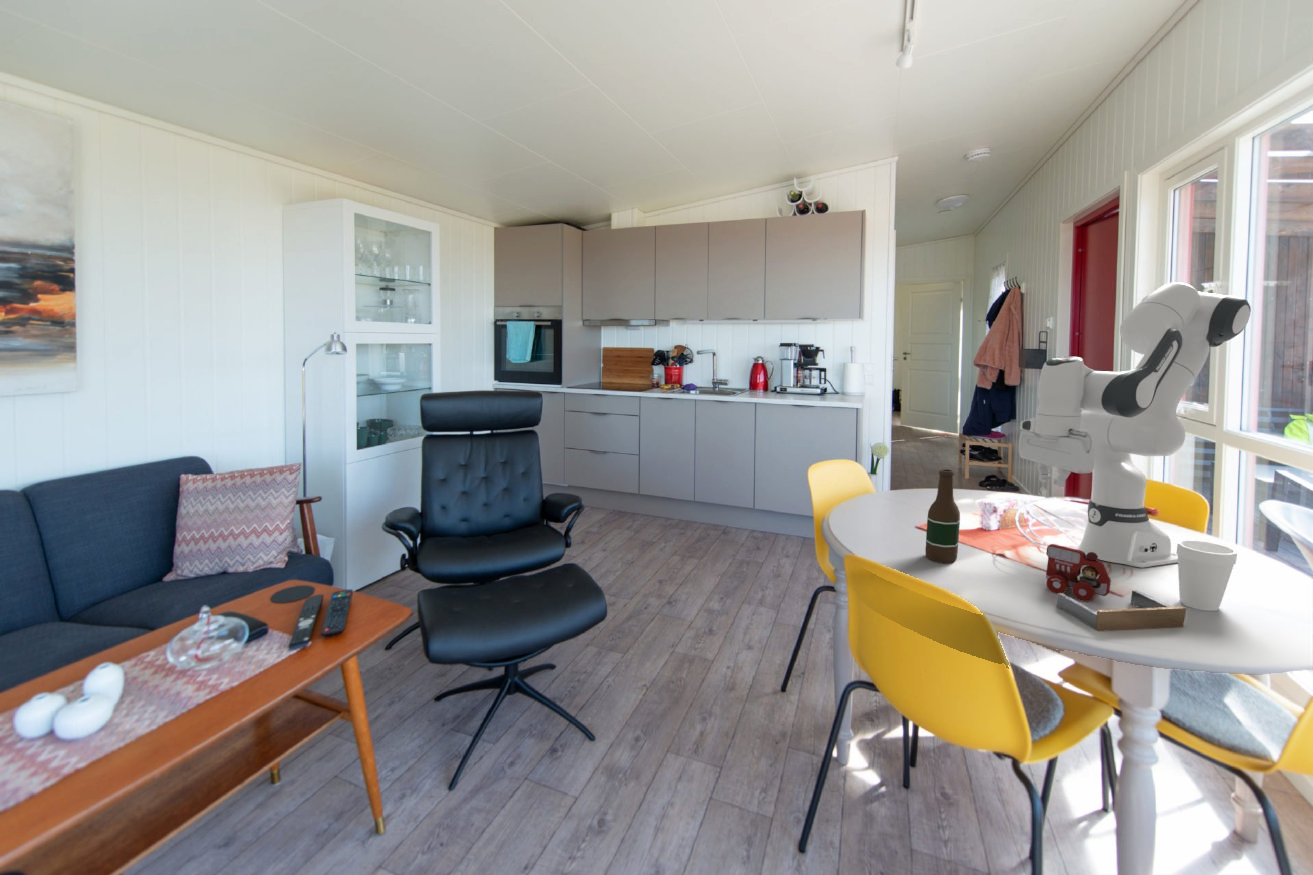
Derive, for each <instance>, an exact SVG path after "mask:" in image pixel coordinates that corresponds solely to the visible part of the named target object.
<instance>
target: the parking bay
mask: <svg viewBox="0 0 1313 875" xmlns="http://www.w3.org/2000/svg"><path fill="white" fill-rule="evenodd" d="M1130 604H1131V605H1133V604H1134V606H1135V607H1137V606H1138V608H1119V609H1118V608H1117V609H1097V610H1094V609H1092V608H1090V607H1089V606H1086V605H1084V604H1082V603H1081V602H1079V601H1078V600H1076V599H1074V598H1072V597H1070V596H1068V595H1066V594H1065V593H1058V594H1057V599H1056V608H1058V609H1060V610H1061V611H1063V612H1065V613H1067V614H1068V615H1070V616H1072V617H1074V618H1075V619H1077V620H1079V621H1080V622H1082V623H1083V624H1085V625H1087V626H1089V627H1090V628H1093V629H1094V630H1096V631H1098V632H1104V631H1105V630H1106V631H1107V630H1109V631H1126V630H1127V631H1128V630H1129V631H1130V629H1131V630H1150V629H1151V630H1152V629H1169V628H1173V629H1174V628H1184V626H1185V618H1186V611H1187V608H1186V607H1184V606H1182V605H1181V606H1171V605H1169V604H1167V603H1165V602H1163V601H1161V600H1159V599H1157V598H1155V597H1152V596H1151V595H1148V594H1146V593H1144V592H1141V591H1139V590H1137V589H1132V590H1131V598H1130ZM1106 631H1105V632H1106Z"/></svg>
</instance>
